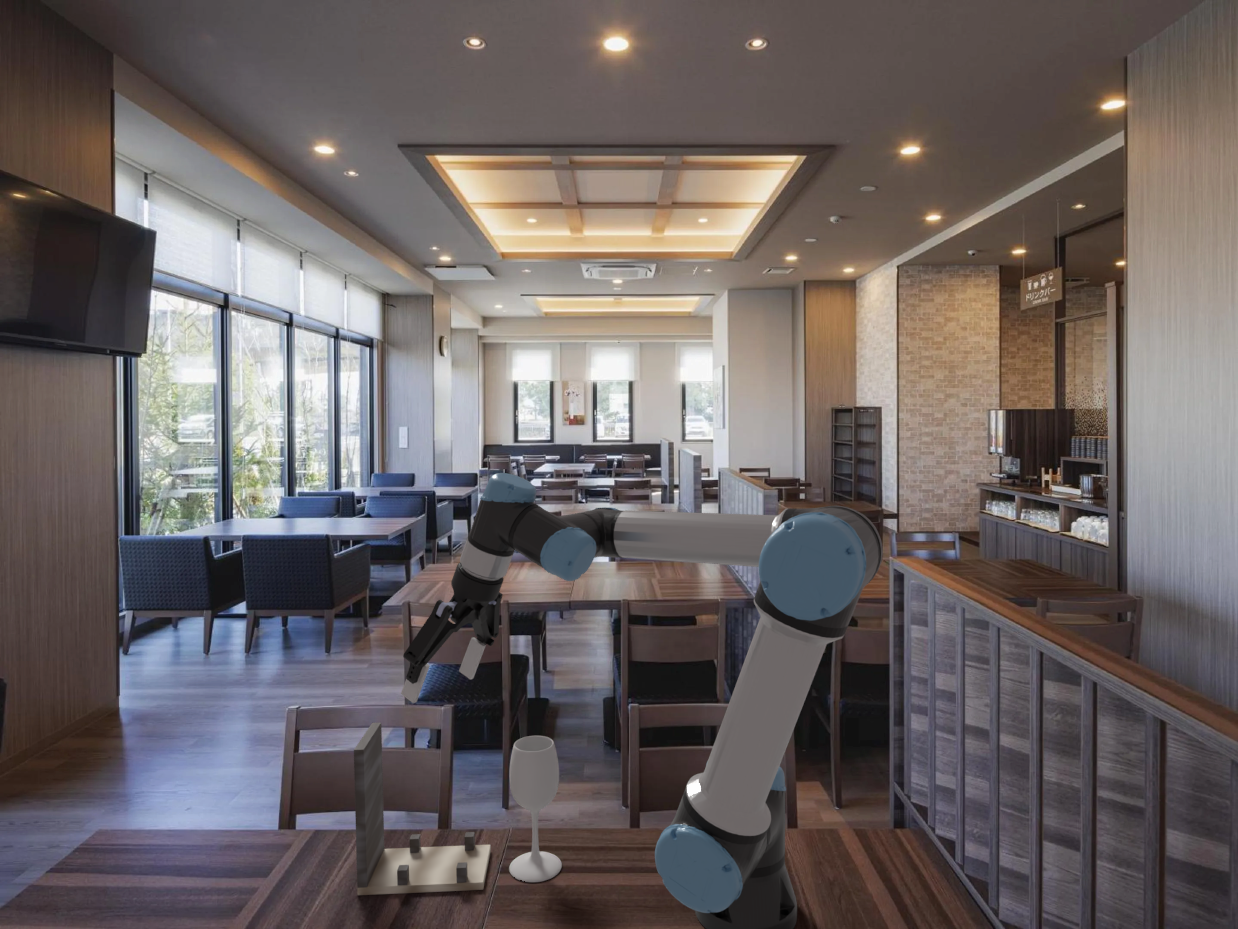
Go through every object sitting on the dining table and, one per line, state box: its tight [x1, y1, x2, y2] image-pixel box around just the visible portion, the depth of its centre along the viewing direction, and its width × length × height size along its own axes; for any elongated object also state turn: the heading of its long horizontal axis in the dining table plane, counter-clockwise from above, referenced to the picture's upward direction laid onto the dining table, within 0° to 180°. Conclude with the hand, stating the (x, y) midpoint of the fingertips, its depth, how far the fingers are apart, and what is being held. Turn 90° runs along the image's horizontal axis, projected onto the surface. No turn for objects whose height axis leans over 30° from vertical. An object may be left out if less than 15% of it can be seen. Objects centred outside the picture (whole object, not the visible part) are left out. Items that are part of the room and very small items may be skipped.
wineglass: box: [508, 735, 563, 883], centre depth 126 cm, size 9×9×21 cm
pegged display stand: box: [353, 721, 492, 896], centre depth 125 cm, size 20×11×23 cm, turn 93°
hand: (438, 686), depth 123 cm, fingers open, 13 cm apart
